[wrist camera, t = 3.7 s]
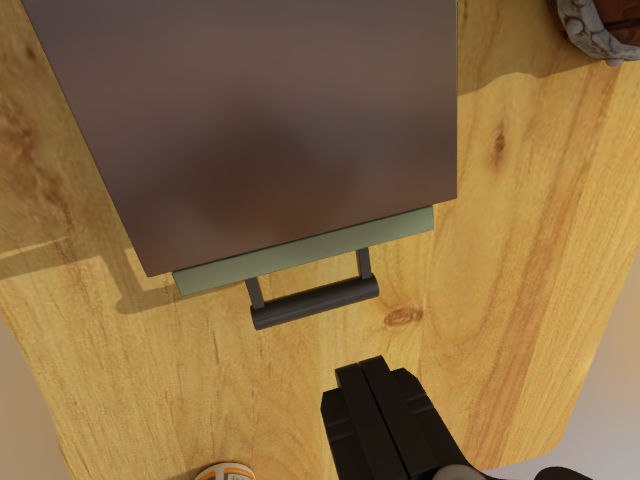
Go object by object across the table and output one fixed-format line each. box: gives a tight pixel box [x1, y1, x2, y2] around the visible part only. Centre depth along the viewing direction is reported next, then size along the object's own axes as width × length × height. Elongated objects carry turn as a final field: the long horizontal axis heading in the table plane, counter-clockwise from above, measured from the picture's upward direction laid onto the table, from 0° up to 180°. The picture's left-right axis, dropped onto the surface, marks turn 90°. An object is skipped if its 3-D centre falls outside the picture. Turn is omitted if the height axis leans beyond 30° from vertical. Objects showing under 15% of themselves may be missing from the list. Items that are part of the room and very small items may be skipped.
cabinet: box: [21, 0, 458, 277], centre depth 15 cm, size 17×13×10 cm
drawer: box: [172, 205, 434, 331], centre depth 17 cm, size 20×11×8 cm, turn 10°
